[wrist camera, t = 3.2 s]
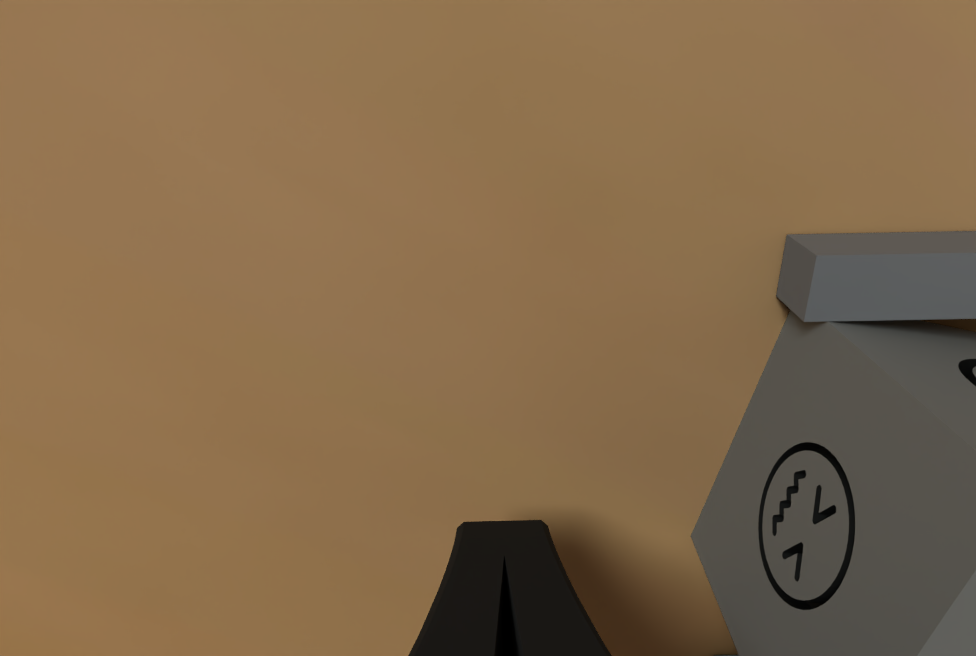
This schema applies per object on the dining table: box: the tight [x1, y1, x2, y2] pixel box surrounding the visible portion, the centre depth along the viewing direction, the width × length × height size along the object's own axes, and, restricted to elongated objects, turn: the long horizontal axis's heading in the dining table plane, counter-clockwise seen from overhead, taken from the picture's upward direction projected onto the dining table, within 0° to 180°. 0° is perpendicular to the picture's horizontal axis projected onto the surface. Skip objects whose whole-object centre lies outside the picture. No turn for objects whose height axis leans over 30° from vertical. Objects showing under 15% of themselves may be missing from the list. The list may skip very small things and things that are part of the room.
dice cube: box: [691, 309, 976, 656], centre depth 10 cm, size 5×5×5 cm
